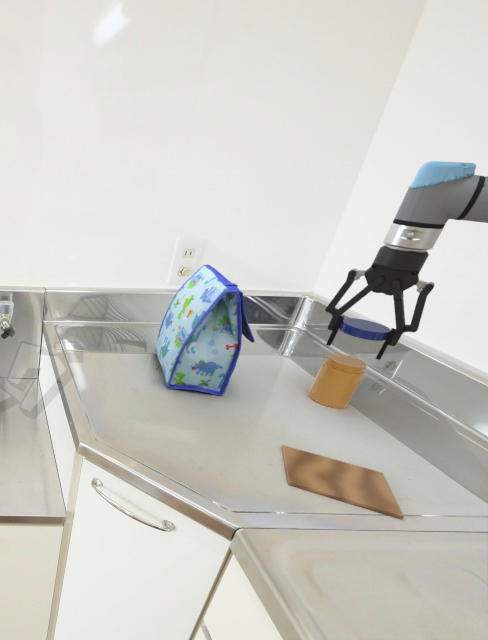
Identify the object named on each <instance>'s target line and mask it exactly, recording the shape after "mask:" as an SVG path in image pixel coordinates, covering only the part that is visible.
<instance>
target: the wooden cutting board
mask: <svg viewBox="0 0 488 640" xmlns="http://www.w3.org/2000/svg"><path fill="white" fill-rule="evenodd" d="M281 453H282V458H283V463H284V469H285V472H286V473H285V475H286V481H287V485H289V486H291V487H295V488H298V489H301V490H304V491H307V492H312V493H315V494H317V495H321V496H324V497H327V498H331V499H334V500H338V501H341V502H344V503H346V504H347V503H348V504H350V505H354V506H357V507H360V508H364V509H367V510H370V511H374V512H377V513H379V514H383V515H387V516H390V517H393V518H397V519H400V520H403V519H404V518H405V516H404V513H403V511H402V510H401V507H400V505H399V503H398V501H397V500H396V497H395V495H394V493H393V491H392V489H391V486H390V484H389V482H388V481H387V478H386V476H385V475H384V473H383V472H382V471H379V470H374V469H371V468H367V467H364V466H361V465H357V464H353V463H349V462H346V461H343V460H338V459H335V458H331V457H328V456H324V455H320V454H316V453H312V452H309V451H305V450H302V449H298V448H295V447H291V446H288V445H285V444H283V445H281Z"/></svg>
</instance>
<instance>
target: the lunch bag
mask: <svg viewBox="0 0 488 640" xmlns="http://www.w3.org/2000/svg"><path fill="white" fill-rule="evenodd" d="M167 307H168V308H167V309H166V312H165V314H164V317H163V319H162V322H161V324H160V327H159V332H158V334H157V340H156V342H155V347H154V352H155V354H156V356H157V359H158V361H159V364H160V367H161V370H162V373H163V376H164V380H165V383H166V386H167V388H168V389H171V390H187V391H197V392H202V393H206V394H209V395H213V396H220V397H221V396H223V395H224V394H225V393H226V390H227V388H228V386H229V383H230V381H231V377H232V375H233V373H234V371H235V369H236V366H237V363H238V360H239V357H240V353H241V349H242V339H243V336H244V338H245V339H246V340H248V341H249V342H250V343H256V341H255V337H254V335H253V333H252V329H251V327H250V325H249V322H248V318H247V313H246V305H245V301H244V292H243V291H242V290H240V288H239V285H238V284H237V283H235V282H232V281H230V280H229V279H228V278H227V277H225V276H224V275H223V274H222V273H221V272H219V271H218V269H216V268H215V267H213V266H212V265H211V264H203V265H202V266H200V268H198V269H197V271H195V273H193V275H191V276H190V277H189V278H188V279H187V280H186V281H185V282H184V283H183V284H182V286H181V287H180V288H179V289H178V290H177V292H176V293H175V295H174V296H173V297H172V300H171V301H170V303H169V304H168V306H167ZM242 335H243V336H242Z"/></svg>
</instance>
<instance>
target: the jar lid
mask: <svg viewBox="0 0 488 640" xmlns="http://www.w3.org/2000/svg"><path fill="white" fill-rule="evenodd" d="M339 331H341V332H342V333H344V334H346V335H348V336H351V337H354V338H358V339H363V340H367V341H374V342H382V341H383V342H384V341H385V340H386V338H387V337H388V335H389V333H390V331H391V328H389V327H388V326H386V325H383V324H381V323H378V322H375V321H372V320H367V319H362V318H356V317H355V318H354V317H347V318H346V317H344V319H343V320H342V322H341V324H340V326H339Z"/></svg>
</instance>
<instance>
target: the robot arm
mask: <svg viewBox="0 0 488 640" xmlns="http://www.w3.org/2000/svg"><path fill="white" fill-rule="evenodd" d="M476 169H477V164H476V163H474V162H459V161H441V160H440V161H438V160H430V161H427V162H424V163H423V164H422V165H421V166H420V167H419V169H418V170H417V172H416V174H415V176H414V177H413V180H412V181H411V183H410V185H409V186H408V187H407V191H406V193H405V195H404V197H403V199H402V202H401V204H400V205H399V207H398V210H397V212H396V213H395V216H394V219H393V220H392V222H391V224H390V226H389V228H388V231H387V233H386V235H385V237H384V239H383V241H382V242H383V244H384V245H382V246H380V247H379V249H378V251H377V254H376V255H375V258H374V259H373V262H372V263H371V266H370V267H369V268H368V269H366V270H365V269H357V268H352V269H350V270H349V271H348V273H347V277H346V280H345V282H344V283H343V284H342V286H341V287H340V288H339V290H338V291H337V293H336V294H335V295H334V296H333V298H332V299H331V300H330V302H329V303H328V305H326V308H324V309H325V310H324V311H325V312H326V313H328V314H331V316H332V317H331V319H330V321H329V323H328V326H327V330H328V331H331V333H330V335H329V337H328V340H327V342H326V344H325V346H328V347H330V346H331V345H332V344H333V342H334V340H335V339H336V336H337V334H338V332H339V331H340V329H339V326H340V324H341V322H342V320H343V319H345V316H343V314H344V313H346V312H347V311H348V310H349V309H351V308H352V307H353V306H354V305H356V304H357V303H358V302H359V301H361V300H362V299H363V298H364V297H365V296H367V295H368V294H370V293H375V294H383V295H386V296H390V297H392V299H393V306H394V320H395V328H393V327H392V328H390V330H391V331H390V333H389V335H388V337H387V338H386V340H384V341H383V344H382V346H381V347H380V349H379V351H378V352H377V355H376V357H375V360H378V361H380V360H381V359H382V357H383V355H384V353H385V352H386V350H387V348H388V346H391V347H395V346H397V344H398V342H399V341H400V339H401V337H402V335H403V334H404V333H417V332H418V330H419V326H420V323H421V319H422V316H423V312H424V309H425V306H426V301H427V298H428V296H429V294H430V293H432V291H433V289H434V288H435V282H434V281H433V282H432V281H429V282H428V281H424V280H422V279H420V277H419V275H420V272H421V270H422V269H423V267H424V265H425V263H426V261H427V259H428V258H429V256H430V253H429V252H428V251H430V250H432V249H433V248H434V247H435V245H436V244H437V241H438V239H439V237H440V236H441V234H442V232H443V230H444V228H445V226H446V224H447V223H448V221H449V220H454V221H466V222H473V223H475V222H476V223H484V224H488V175H487V176H484V175H479V174H475V173H476V172H475V171H476ZM361 277H364V279H365V281H366V283H367V284H366V286H365V287H363V288H362V289H361V290H360V291H359V292H358V293H356V294H355V295H354V296H353V297H352V298H350V299H349V300H348V301H346V302H345V303H344V304H343V305H341V307H339V308H337V307H336V306H337V305H338V304H339V302H340V301H341V300H342V299H343V297H344V296H345V295H346V294H347V292H348V291H349V289H350V288H351V287H352V285H353V284H354V283H355V281H358V280H360V279H361ZM414 286H416V287H417V288H416V292H417V293H419V294H418V295H417V299H416V303H415V307H414V311H413V314H412V316H411V317H412V318H411V321H410V324H406V315H405V302H404V301H405V300H404V291H406V290H408V289H410V288H412V287H414Z"/></svg>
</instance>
